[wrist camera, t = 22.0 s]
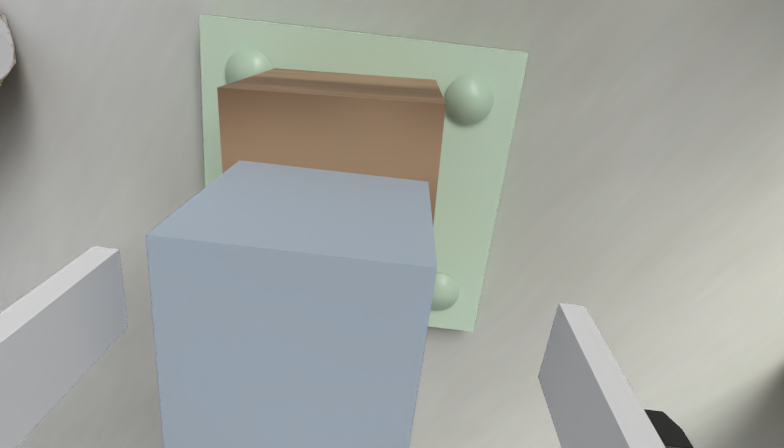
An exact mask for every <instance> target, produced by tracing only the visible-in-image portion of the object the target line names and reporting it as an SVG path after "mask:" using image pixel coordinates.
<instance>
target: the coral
mask: <svg viewBox="0 0 784 448" xmlns="http://www.w3.org/2000/svg"><path fill="white" fill-rule="evenodd" d="M15 56H16V54H15V49H14V41H13V39H12V35H11V32H10V29H9V26H8V23H7V19H6V15H5V14H3V13H2V12H0V86H1V85H2V82H3V80H4V79H5V78H6V77H7V76H8V74H9V72H10V70H11V69H12V67H13V66H14V64H15V63H16V57H15Z"/></svg>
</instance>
